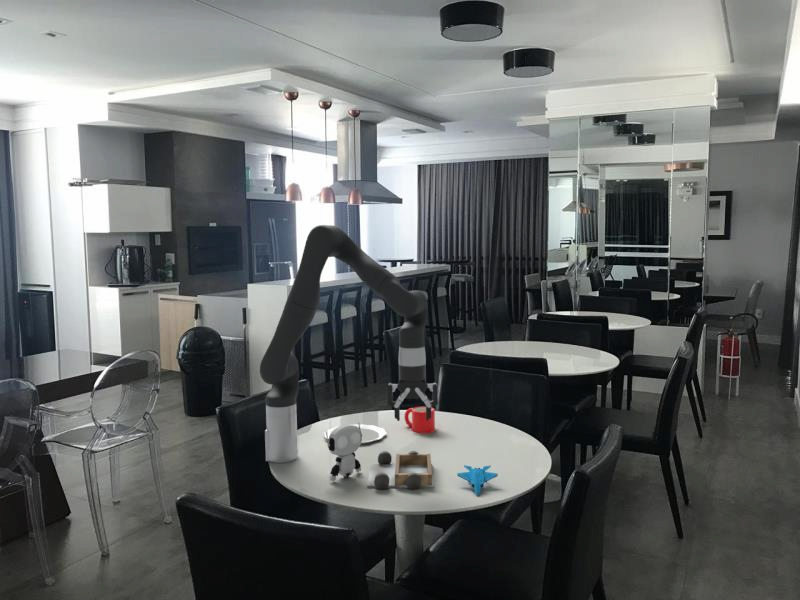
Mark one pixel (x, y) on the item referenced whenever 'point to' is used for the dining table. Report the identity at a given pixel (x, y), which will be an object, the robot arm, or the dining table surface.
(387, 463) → the chassis
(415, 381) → the robot arm
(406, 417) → the mug
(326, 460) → the dining table surface
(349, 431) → the robot toy
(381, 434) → the plate
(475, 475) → the toy airplane
